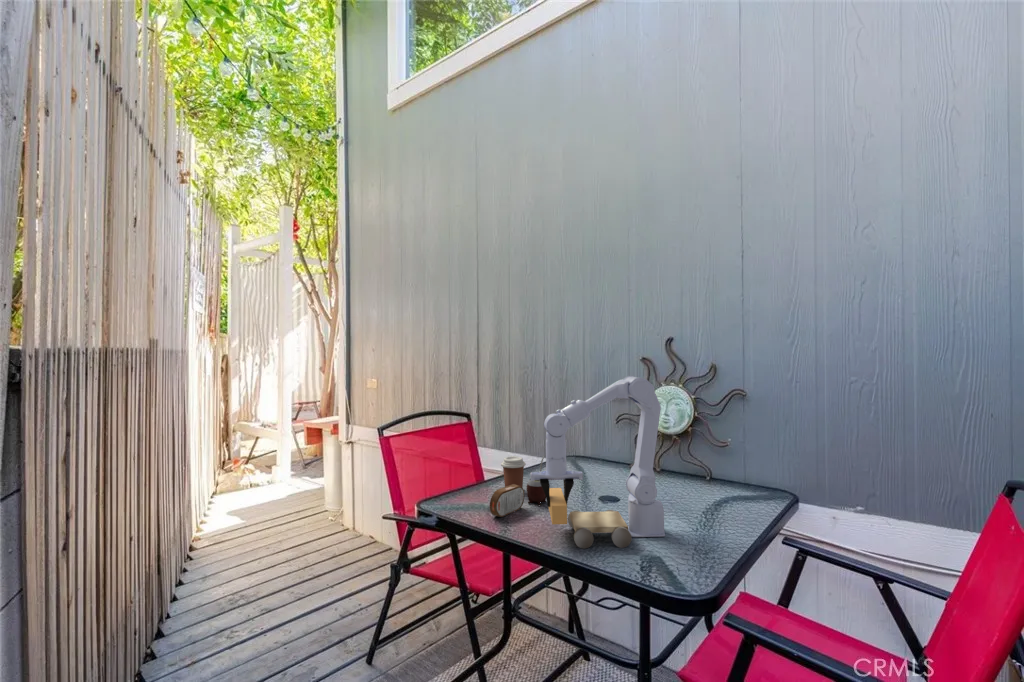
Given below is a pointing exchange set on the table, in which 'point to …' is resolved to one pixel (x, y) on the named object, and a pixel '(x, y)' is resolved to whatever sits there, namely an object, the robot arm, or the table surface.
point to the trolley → (599, 527)
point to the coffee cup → (513, 470)
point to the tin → (507, 500)
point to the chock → (557, 506)
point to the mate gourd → (536, 490)
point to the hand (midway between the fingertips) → (557, 505)
